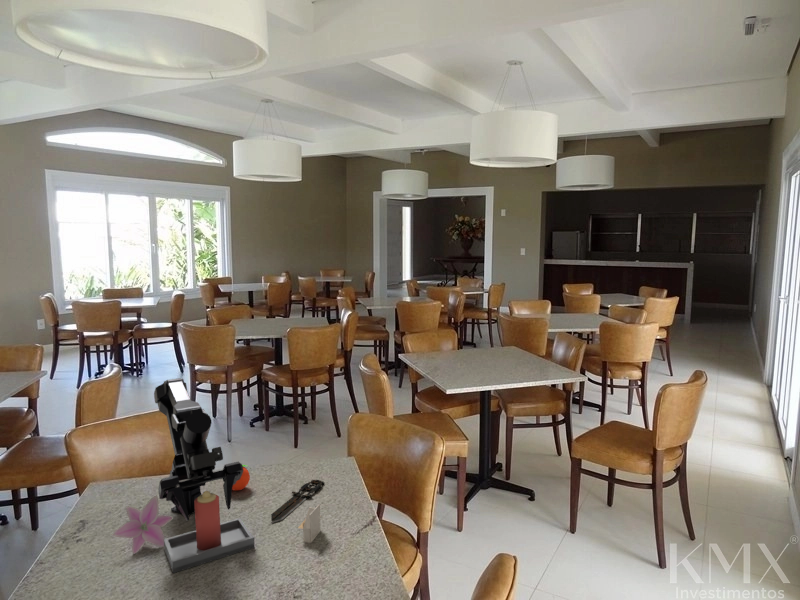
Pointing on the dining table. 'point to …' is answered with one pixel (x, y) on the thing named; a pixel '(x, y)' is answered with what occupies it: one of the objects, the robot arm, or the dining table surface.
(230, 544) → the tray
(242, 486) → the clementine
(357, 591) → the dining table surface
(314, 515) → the architectural model
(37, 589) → the dining table surface
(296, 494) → the knife
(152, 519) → the lily
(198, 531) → the pepper mill
